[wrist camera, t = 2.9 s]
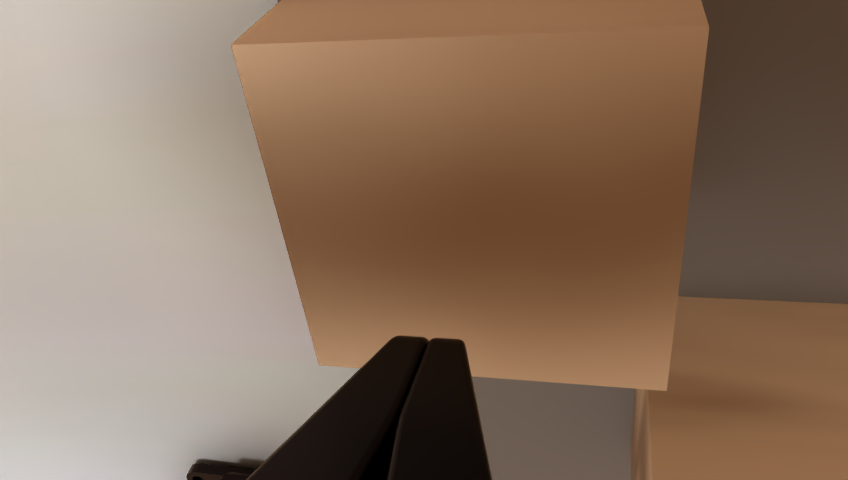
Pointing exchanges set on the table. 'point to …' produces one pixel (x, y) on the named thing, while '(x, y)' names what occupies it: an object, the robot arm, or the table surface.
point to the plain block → (484, 175)
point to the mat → (719, 221)
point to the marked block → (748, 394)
